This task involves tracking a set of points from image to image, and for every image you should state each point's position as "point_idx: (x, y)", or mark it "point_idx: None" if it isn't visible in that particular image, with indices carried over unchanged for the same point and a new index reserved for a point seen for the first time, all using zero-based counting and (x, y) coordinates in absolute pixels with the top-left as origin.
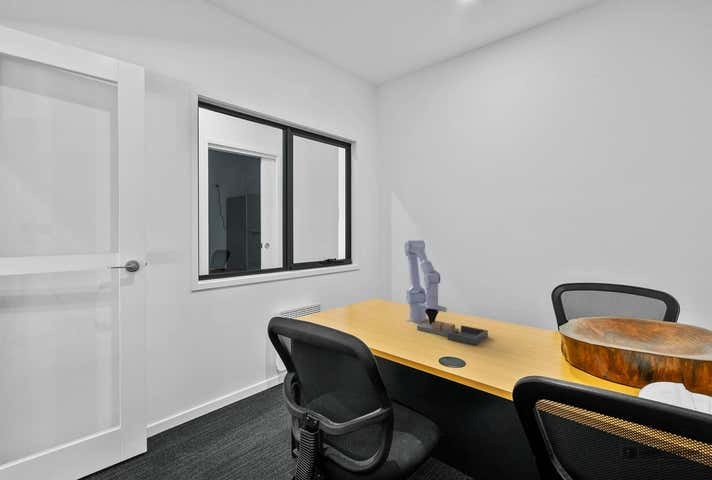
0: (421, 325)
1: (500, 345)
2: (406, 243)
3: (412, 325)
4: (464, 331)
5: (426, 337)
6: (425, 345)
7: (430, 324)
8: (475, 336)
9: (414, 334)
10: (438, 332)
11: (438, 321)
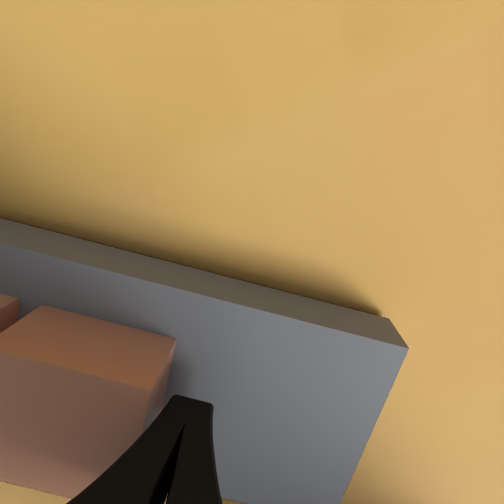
0: (345, 383)
1: None
2: None
3: (476, 462)
4: None
5: (189, 63)
6: None
7: (204, 401)
8: None
9: (385, 121)
10: (68, 247)
11: (77, 482)
